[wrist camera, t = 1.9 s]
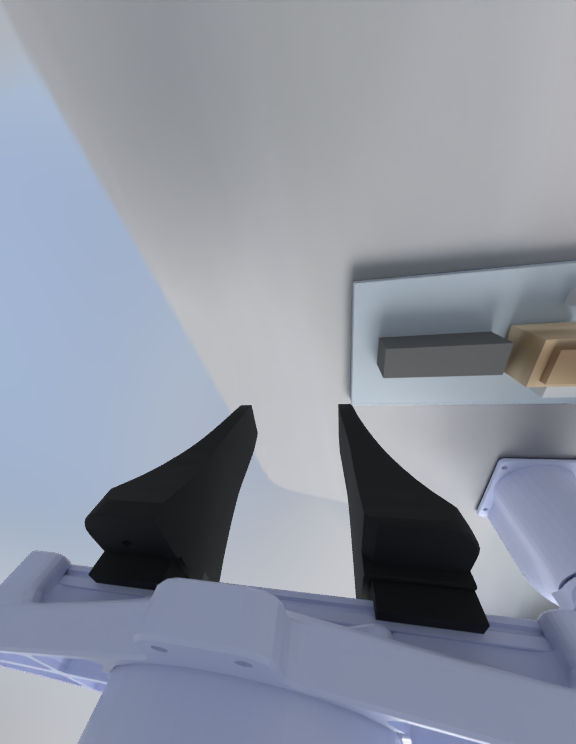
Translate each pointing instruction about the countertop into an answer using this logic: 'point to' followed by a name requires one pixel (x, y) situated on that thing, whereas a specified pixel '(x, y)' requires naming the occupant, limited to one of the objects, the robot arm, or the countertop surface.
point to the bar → (443, 355)
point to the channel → (456, 329)
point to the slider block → (543, 354)
